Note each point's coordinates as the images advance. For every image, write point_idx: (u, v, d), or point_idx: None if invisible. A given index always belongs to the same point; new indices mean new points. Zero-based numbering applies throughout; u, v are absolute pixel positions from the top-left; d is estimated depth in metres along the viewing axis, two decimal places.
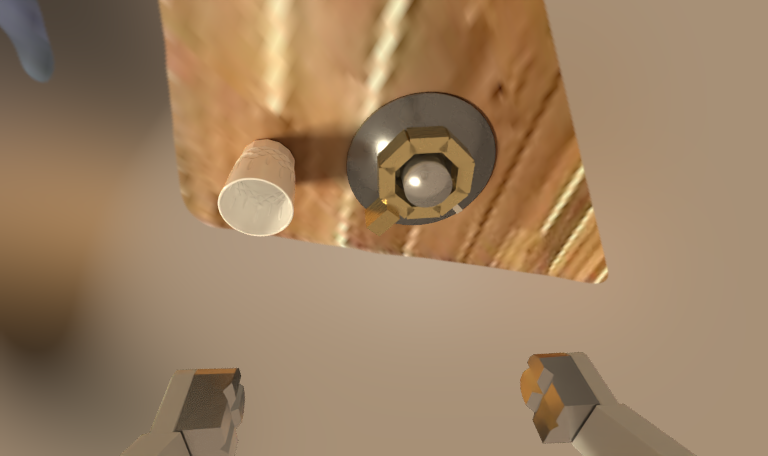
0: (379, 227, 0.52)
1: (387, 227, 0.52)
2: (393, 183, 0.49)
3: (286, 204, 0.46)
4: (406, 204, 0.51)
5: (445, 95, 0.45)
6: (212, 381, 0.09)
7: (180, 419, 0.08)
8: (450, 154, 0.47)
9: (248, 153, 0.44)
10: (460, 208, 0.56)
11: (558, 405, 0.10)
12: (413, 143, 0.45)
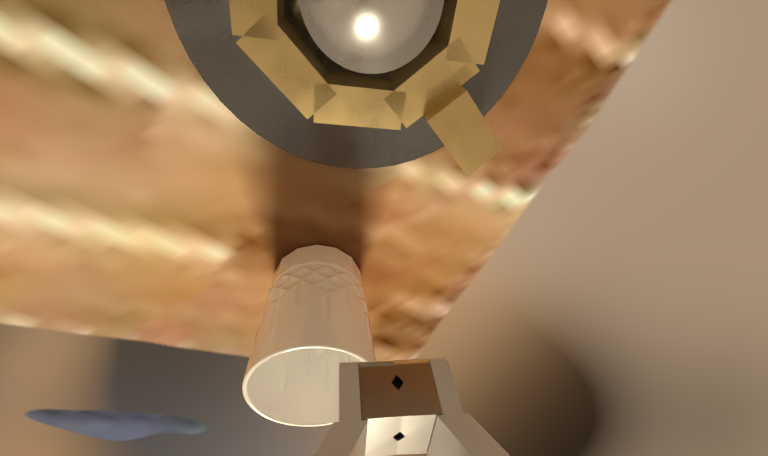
0: (476, 145, 0.20)
1: (483, 125, 0.20)
2: (362, 91, 0.19)
3: None
4: (435, 61, 0.19)
5: None
6: (378, 373, 0.10)
7: (363, 408, 0.09)
8: None
9: None
10: None
11: None
12: (245, 26, 0.17)
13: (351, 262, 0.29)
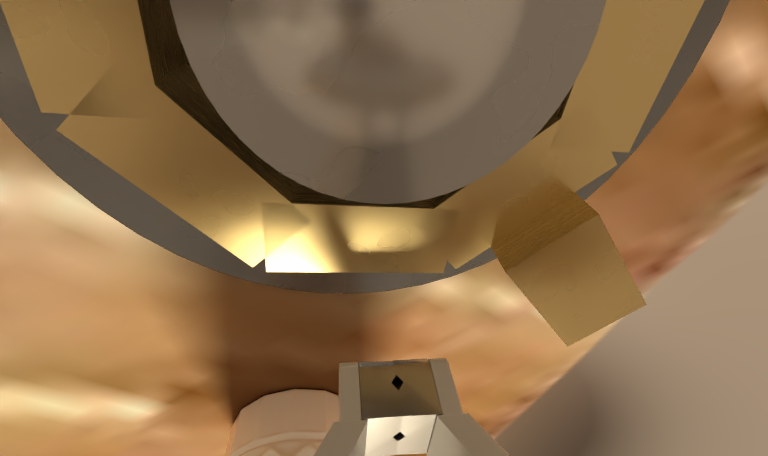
0: (595, 303, 0.10)
1: (617, 270, 0.10)
2: (367, 213, 0.09)
3: None
4: (527, 151, 0.09)
5: None
6: (378, 373, 0.10)
7: (363, 408, 0.09)
8: None
9: None
10: None
11: None
12: (72, 91, 0.07)
13: None
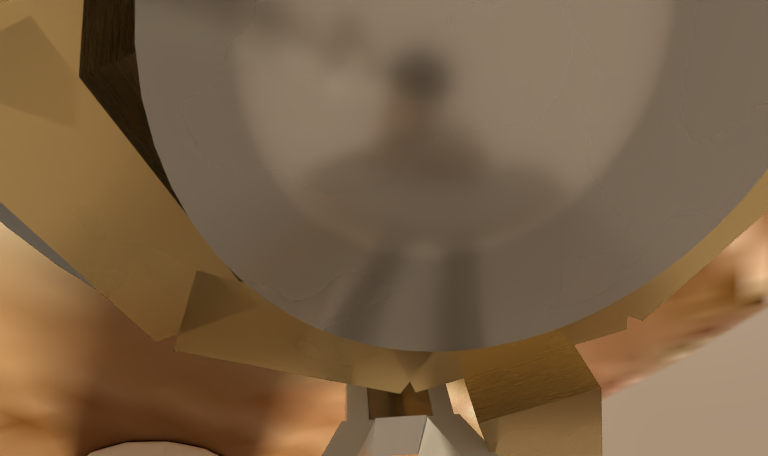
0: None
1: (591, 441, 0.08)
2: None
3: None
4: None
5: None
6: None
7: (370, 408, 0.09)
8: None
9: None
10: None
11: None
12: None
13: None
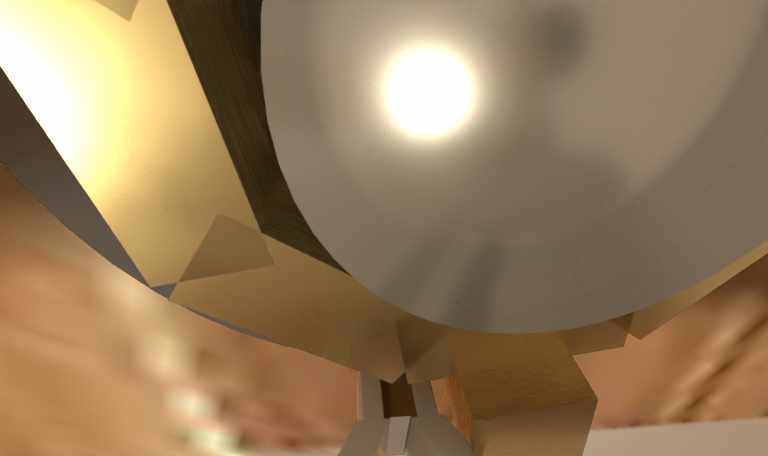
0: None
1: (572, 455, 0.08)
2: (351, 285, 0.06)
3: None
4: None
5: None
6: None
7: (385, 407, 0.09)
8: None
9: None
10: None
11: None
12: None
13: None
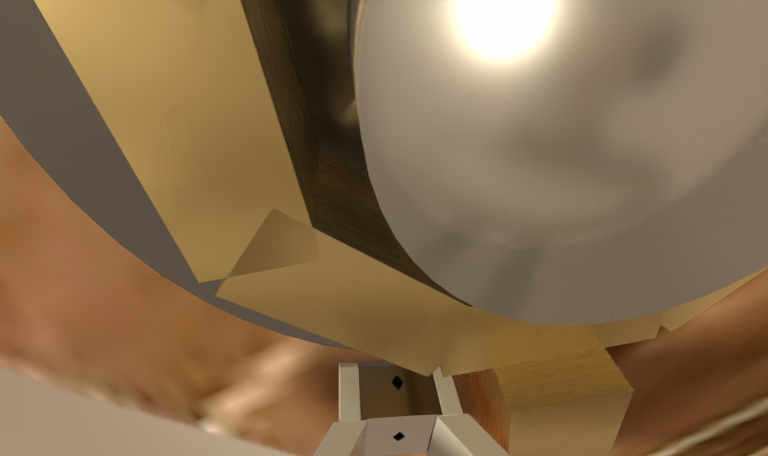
0: None
1: (603, 445, 0.09)
2: (395, 280, 0.07)
3: None
4: None
5: None
6: (378, 373, 0.10)
7: (363, 408, 0.09)
8: None
9: None
10: None
11: None
12: None
13: None
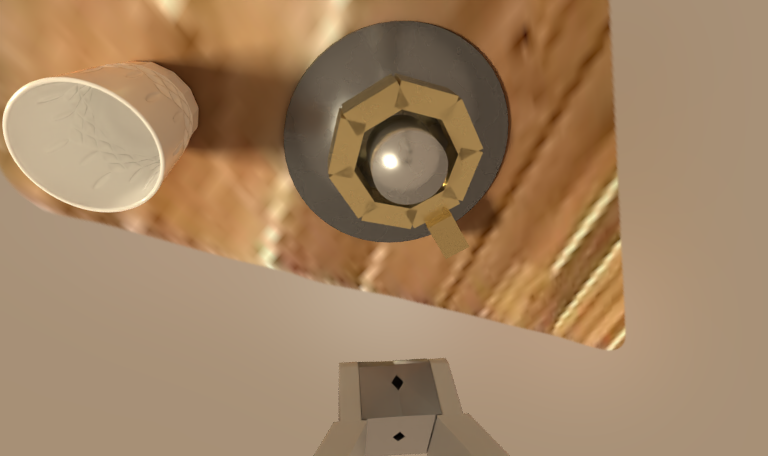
0: (453, 243, 0.35)
1: (458, 233, 0.34)
2: (393, 207, 0.33)
3: None
4: (436, 196, 0.33)
5: (446, 31, 0.30)
6: (378, 373, 0.10)
7: (363, 408, 0.09)
8: (372, 118, 0.29)
9: (103, 66, 0.25)
10: None
11: None
12: (336, 170, 0.31)
13: None
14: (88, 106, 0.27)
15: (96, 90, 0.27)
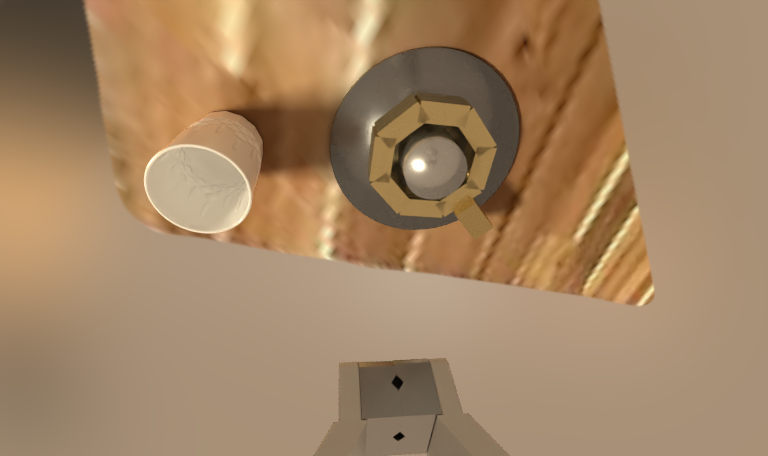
0: (479, 226, 0.41)
1: (483, 217, 0.41)
2: (425, 201, 0.40)
3: (247, 192, 0.35)
4: (460, 189, 0.39)
5: (455, 50, 0.35)
6: (378, 373, 0.10)
7: (363, 408, 0.09)
8: (400, 133, 0.35)
9: (195, 123, 0.33)
10: None
11: None
12: (375, 177, 0.38)
13: None
14: (185, 153, 0.35)
15: None
